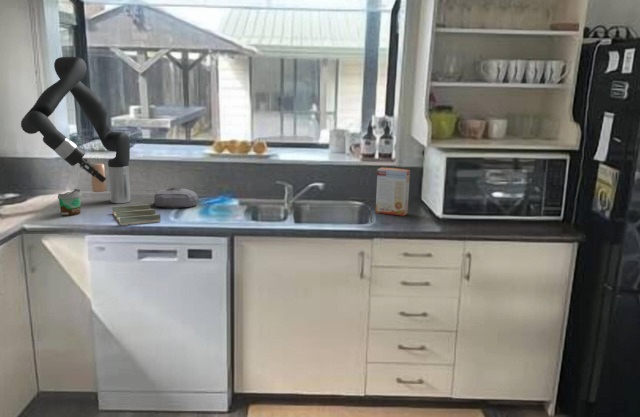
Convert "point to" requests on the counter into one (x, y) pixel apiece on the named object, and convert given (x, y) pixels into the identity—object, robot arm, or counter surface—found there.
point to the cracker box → (392, 191)
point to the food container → (70, 203)
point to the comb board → (135, 214)
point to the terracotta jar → (96, 183)
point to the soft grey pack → (175, 198)
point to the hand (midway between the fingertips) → (103, 179)
